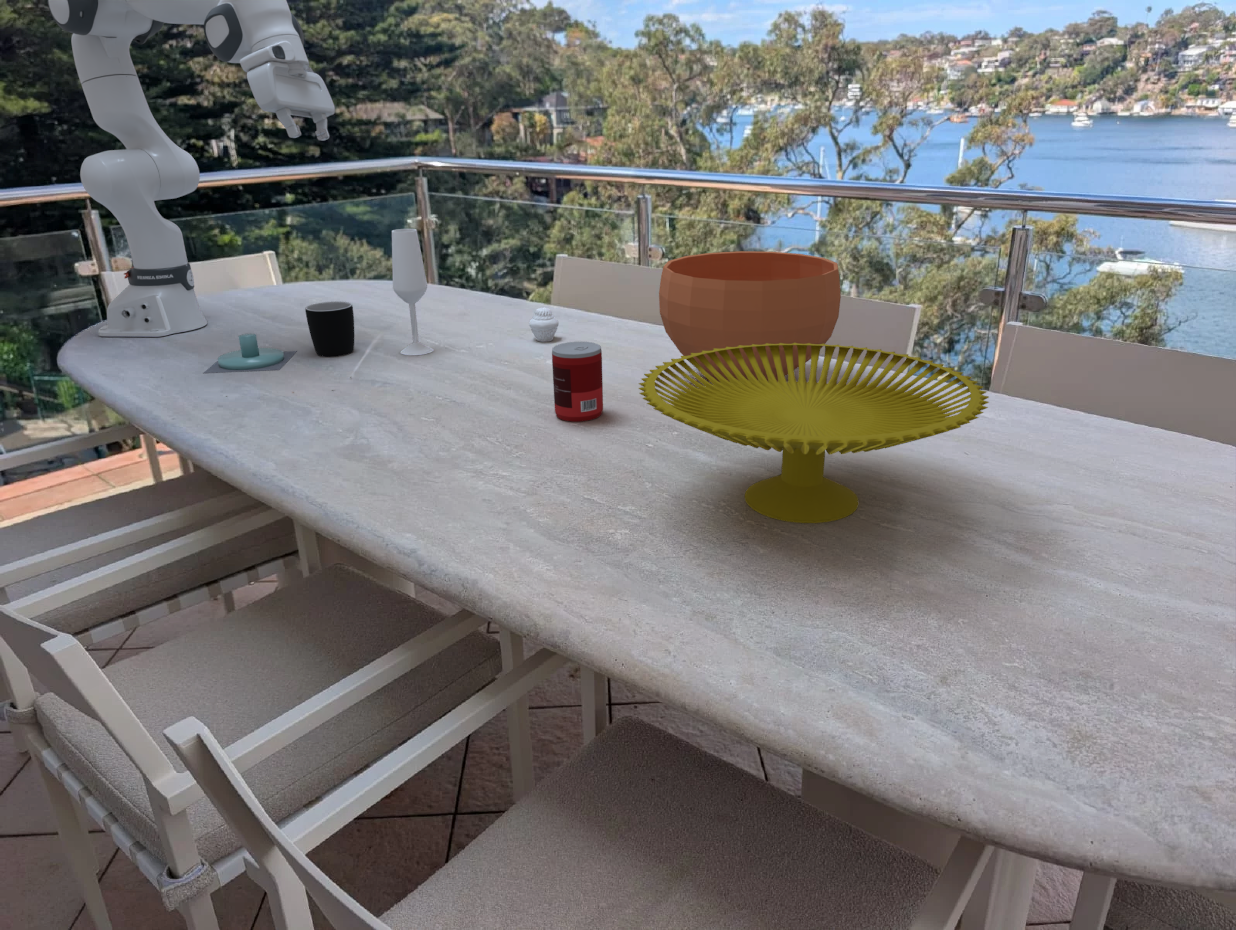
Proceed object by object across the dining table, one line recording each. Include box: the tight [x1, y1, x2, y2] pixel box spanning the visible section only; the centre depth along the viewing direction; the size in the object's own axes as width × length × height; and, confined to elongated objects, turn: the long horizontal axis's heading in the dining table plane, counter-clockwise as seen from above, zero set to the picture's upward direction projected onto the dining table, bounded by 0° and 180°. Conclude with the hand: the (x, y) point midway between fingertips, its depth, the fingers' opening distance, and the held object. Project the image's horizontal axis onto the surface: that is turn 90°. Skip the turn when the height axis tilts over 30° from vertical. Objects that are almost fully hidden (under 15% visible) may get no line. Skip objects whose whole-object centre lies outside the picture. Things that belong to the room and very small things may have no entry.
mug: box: [304, 300, 355, 358], centre depth 182 cm, size 12×9×10 cm
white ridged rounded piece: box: [528, 306, 559, 343], centre depth 191 cm, size 6×6×7 cm
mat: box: [203, 350, 298, 374], centre depth 177 cm, size 14×14×1 cm
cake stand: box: [638, 343, 990, 524], centre depth 111 cm, size 40×40×15 cm
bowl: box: [658, 250, 842, 383], centre depth 156 cm, size 30×30×20 cm
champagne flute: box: [391, 228, 434, 356], centre depth 181 cm, size 7×7×24 cm
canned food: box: [551, 341, 604, 423], centre depth 144 cm, size 8×8×11 cm
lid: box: [217, 333, 284, 370], centre depth 176 cm, size 12×12×5 cm
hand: (310, 138), depth 167 cm, fingers open, 8 cm apart
